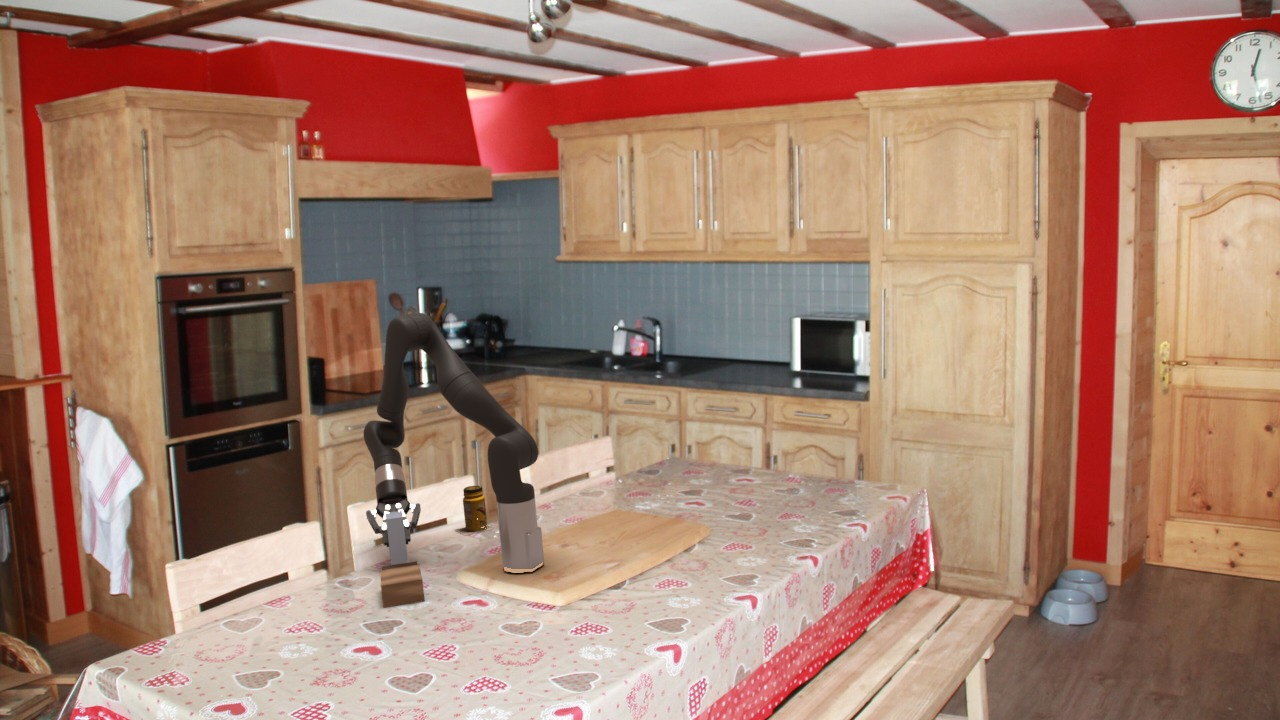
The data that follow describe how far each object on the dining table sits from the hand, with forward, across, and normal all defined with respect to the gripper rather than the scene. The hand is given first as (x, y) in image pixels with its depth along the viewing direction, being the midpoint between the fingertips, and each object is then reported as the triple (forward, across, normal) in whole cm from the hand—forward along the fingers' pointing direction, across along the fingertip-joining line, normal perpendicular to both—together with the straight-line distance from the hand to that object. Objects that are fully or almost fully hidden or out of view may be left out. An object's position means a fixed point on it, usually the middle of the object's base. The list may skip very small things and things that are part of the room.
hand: (397, 543), depth 256 cm
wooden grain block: (+16, 0, -6) cm, 17 cm away
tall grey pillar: (+2, 0, +5) cm, 5 cm away
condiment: (-16, +21, +26) cm, 37 cm away
